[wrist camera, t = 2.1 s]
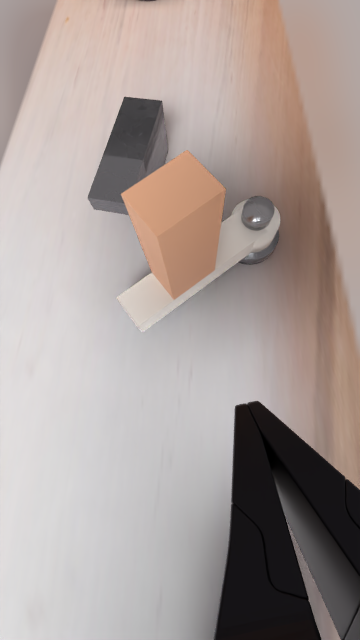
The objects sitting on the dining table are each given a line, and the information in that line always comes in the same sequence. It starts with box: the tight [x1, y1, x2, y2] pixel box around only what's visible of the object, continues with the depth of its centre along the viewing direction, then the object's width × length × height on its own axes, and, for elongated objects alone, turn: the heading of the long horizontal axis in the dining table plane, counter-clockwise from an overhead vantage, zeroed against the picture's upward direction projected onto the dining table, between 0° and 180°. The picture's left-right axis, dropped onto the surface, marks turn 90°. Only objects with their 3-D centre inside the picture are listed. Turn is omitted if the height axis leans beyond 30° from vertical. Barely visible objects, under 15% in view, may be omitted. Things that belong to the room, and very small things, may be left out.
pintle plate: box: [239, 196, 279, 264], centre depth 23 cm, size 5×5×4 cm
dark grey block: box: [88, 97, 168, 215], centre depth 25 cm, size 4×11×5 cm, turn 167°
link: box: [116, 150, 280, 333], centre depth 18 cm, size 15×4×11 cm, turn 127°
